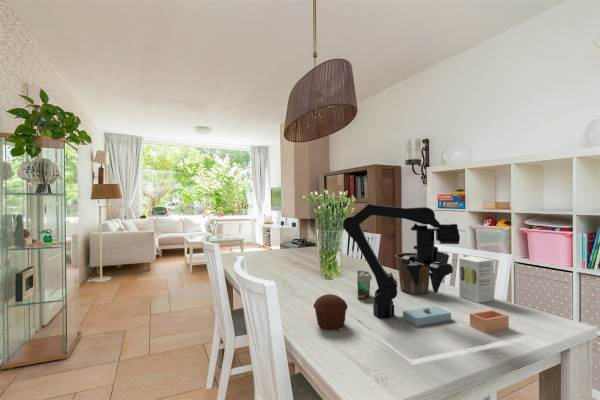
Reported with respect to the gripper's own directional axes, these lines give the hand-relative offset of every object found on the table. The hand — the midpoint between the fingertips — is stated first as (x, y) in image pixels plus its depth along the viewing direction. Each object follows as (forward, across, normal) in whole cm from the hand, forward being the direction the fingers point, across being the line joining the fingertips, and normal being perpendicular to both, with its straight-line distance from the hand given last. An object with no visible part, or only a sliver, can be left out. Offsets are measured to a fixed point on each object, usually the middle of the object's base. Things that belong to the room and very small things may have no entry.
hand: (425, 288), depth 104 cm
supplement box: (+12, +13, -36) cm, 40 cm away
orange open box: (+11, -12, -14) cm, 22 cm away
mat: (+12, 0, 0) cm, 12 cm away
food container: (+12, +32, +6) cm, 35 cm away
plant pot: (+12, +31, -19) cm, 38 cm away
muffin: (+12, +9, +32) cm, 35 cm away
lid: (+10, 0, 0) cm, 11 cm away
